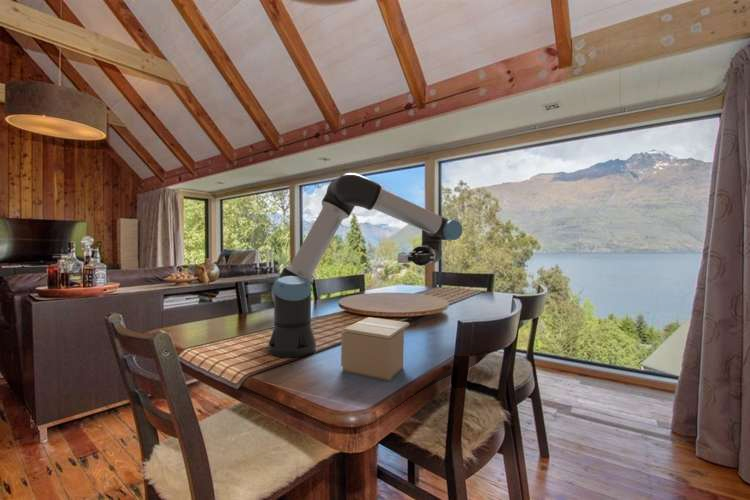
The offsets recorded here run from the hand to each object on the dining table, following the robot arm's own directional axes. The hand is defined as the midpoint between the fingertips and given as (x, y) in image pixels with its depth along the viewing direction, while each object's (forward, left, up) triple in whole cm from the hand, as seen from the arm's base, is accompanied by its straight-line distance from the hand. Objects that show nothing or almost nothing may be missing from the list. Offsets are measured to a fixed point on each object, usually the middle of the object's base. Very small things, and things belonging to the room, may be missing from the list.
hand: (401, 259), depth 113 cm
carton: (-7, -18, -30) cm, 36 cm away
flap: (-6, -16, -19) cm, 25 cm away
